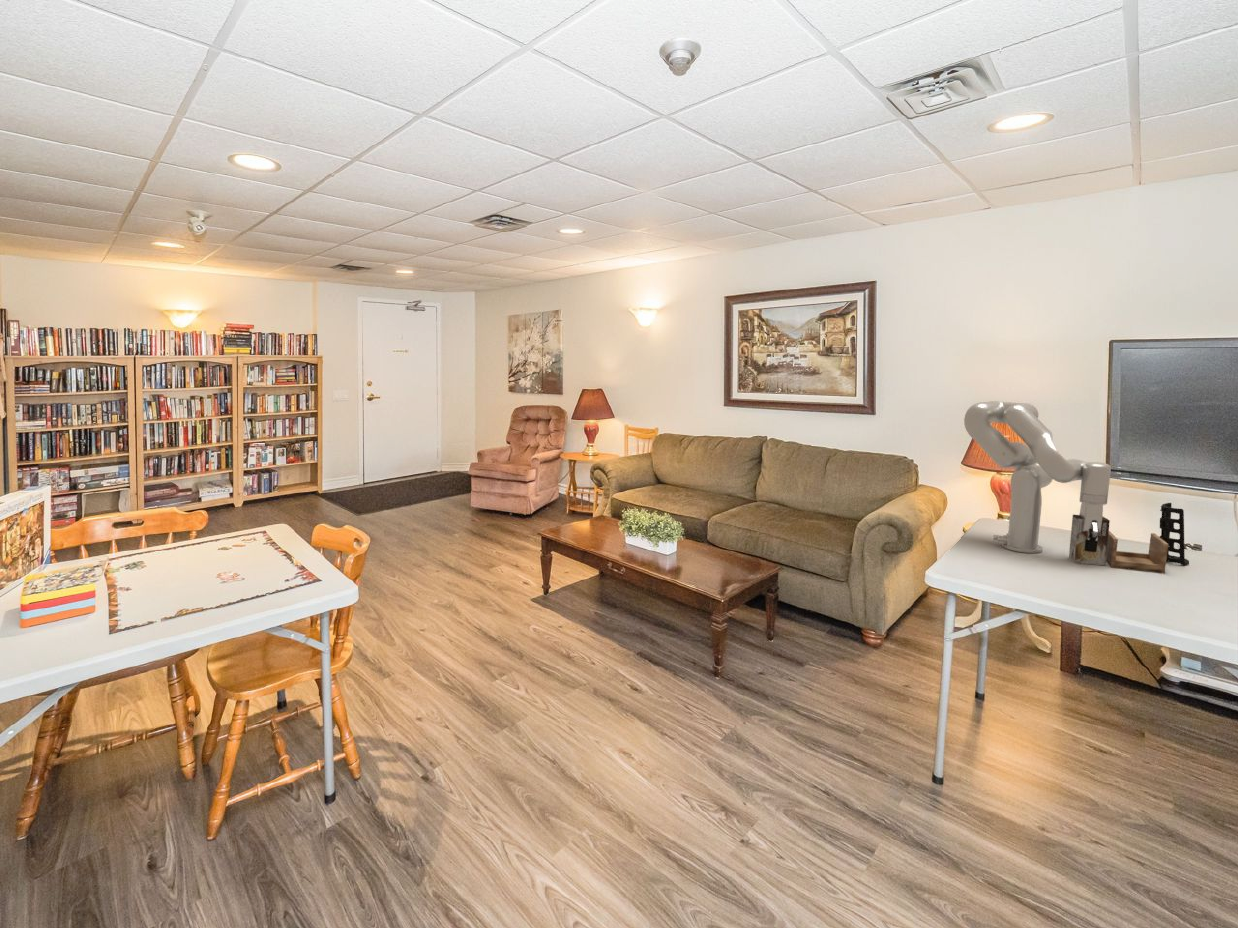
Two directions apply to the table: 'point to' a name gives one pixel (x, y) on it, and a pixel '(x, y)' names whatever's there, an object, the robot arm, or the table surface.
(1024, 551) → the robot arm
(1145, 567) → the cradle
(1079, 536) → the coffee box
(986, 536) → the table surface
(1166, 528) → the holder
